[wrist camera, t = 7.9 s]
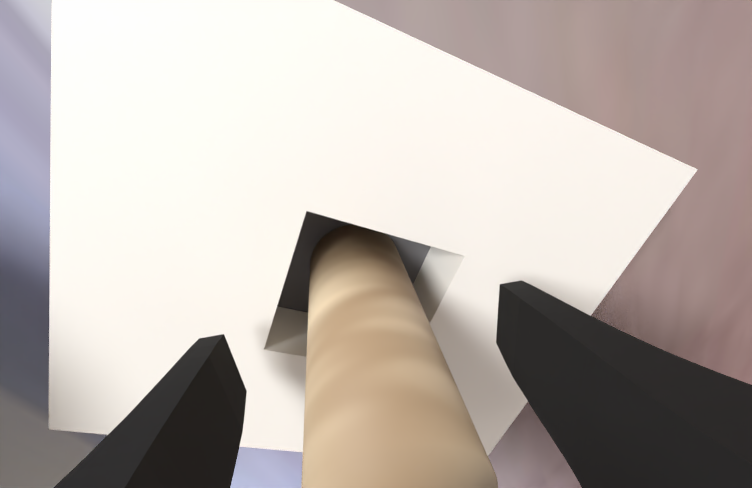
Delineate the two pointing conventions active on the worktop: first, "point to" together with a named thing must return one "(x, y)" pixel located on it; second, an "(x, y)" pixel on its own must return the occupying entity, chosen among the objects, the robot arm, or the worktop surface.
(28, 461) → the worktop surface
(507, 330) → the robot arm
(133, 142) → the socket plate
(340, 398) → the peg
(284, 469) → the worktop surface
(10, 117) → the worktop surface
